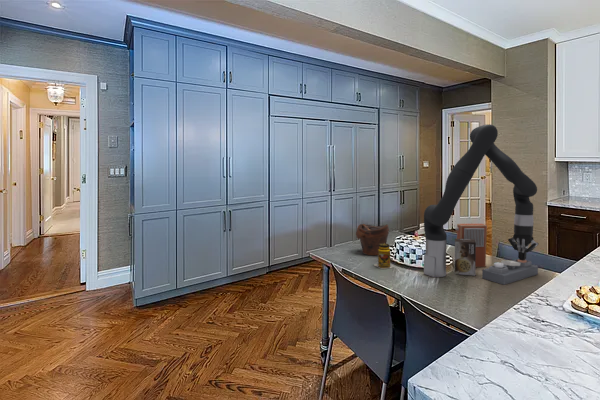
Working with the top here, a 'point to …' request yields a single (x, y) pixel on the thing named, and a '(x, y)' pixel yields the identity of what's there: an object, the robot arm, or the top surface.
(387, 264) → the condiment
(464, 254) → the cookie box
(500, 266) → the grey button
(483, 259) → the red upright rectangular box
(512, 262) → the rocker switch
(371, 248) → the brown plant pot
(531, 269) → the switch console
